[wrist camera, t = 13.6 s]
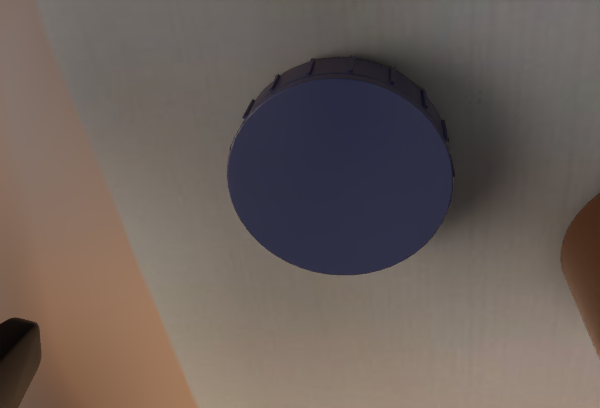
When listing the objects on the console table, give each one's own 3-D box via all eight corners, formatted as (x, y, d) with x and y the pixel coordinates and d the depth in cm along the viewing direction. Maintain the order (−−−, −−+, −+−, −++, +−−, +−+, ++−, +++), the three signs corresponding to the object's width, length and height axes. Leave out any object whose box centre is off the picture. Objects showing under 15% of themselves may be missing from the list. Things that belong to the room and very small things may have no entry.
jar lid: (363, 273, 20) (360, 309, 18) (203, 173, 19) (186, 202, 17) (496, 141, 17) (508, 170, 15) (313, 7, 15) (304, 24, 14)
